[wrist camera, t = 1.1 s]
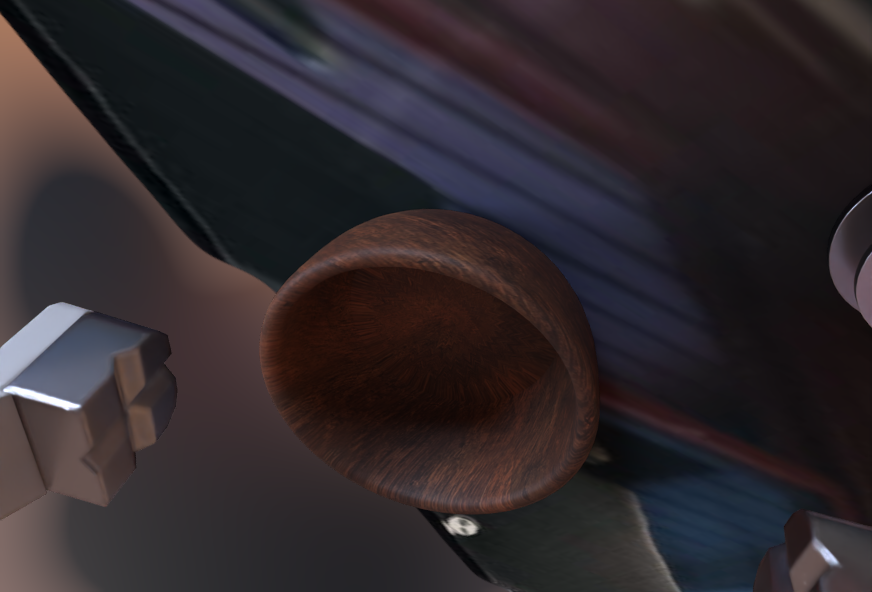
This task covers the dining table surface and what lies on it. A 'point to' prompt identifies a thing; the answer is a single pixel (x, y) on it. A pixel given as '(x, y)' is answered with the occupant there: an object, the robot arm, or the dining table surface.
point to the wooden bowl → (436, 363)
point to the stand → (853, 254)
